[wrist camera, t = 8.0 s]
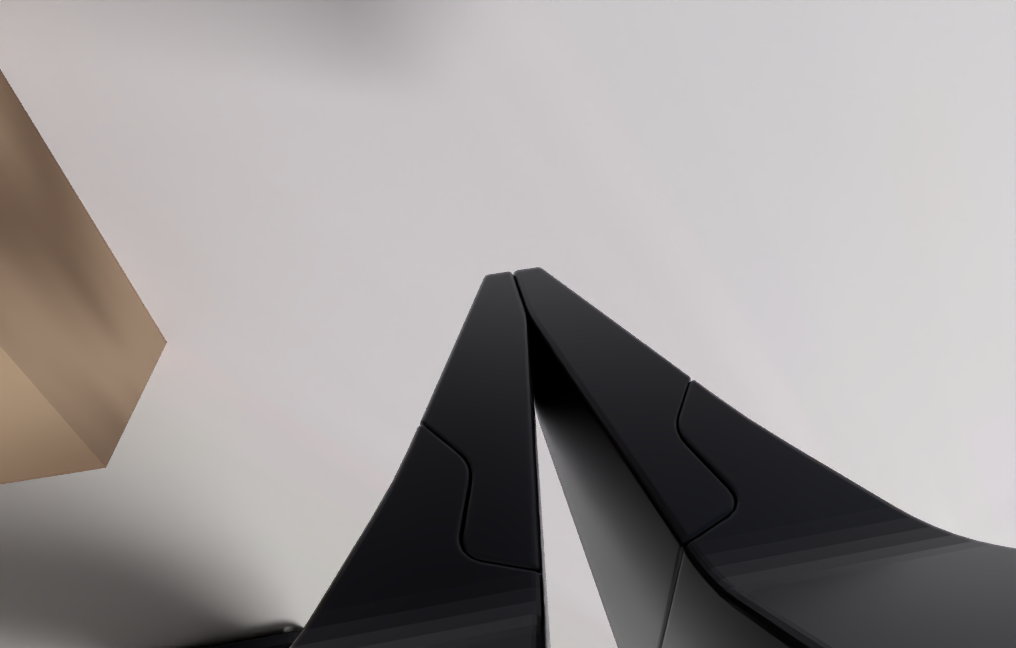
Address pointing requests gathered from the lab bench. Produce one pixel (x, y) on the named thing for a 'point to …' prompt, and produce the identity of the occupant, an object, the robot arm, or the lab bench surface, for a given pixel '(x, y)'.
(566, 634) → the lab bench surface
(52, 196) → the door panel
